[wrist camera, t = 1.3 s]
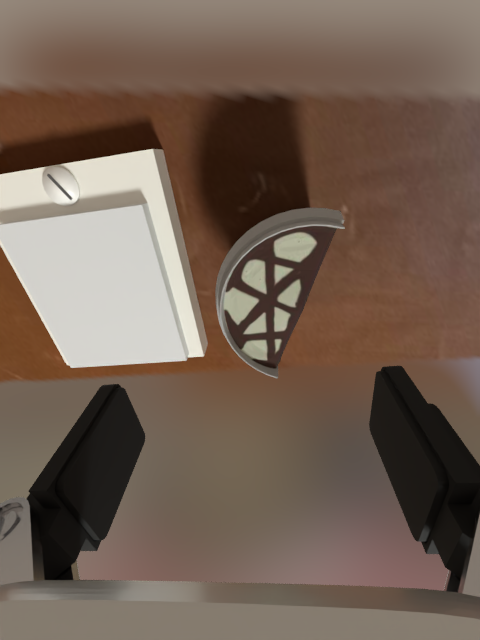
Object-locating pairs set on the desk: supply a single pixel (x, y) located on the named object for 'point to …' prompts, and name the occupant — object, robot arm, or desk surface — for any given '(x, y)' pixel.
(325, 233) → the food container
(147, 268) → the scale
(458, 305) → the desk surface
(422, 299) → the desk surface
